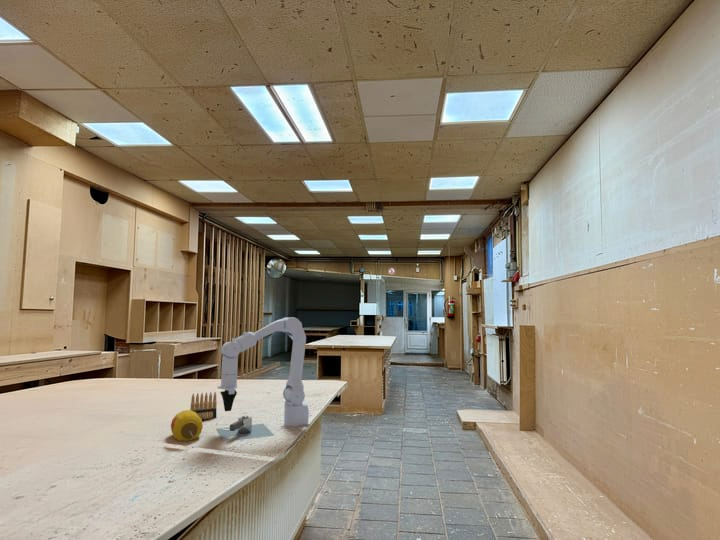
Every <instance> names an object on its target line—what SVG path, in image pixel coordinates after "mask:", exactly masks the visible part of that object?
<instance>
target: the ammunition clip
mask: <svg viewBox="0 0 720 540" xmlns="http://www.w3.org/2000/svg"><path fill="white" fill-rule="evenodd" d="M199 394H200V395H199ZM208 396H209V397H208ZM189 410H191V411H194V412H196V414H197V415H198V416H199V417H200V418H201V420H202V423H204V422H206V421H209V420H212V419H217V392H216V391H214V393H212V391H210V393H209V395H208V392H207V391H206V392H205V395H204V394H203V392H201V393H199V392H198V393H196V396H195V394H194V393H192V395H191V400H190V409H189Z"/></svg>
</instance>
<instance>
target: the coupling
mask: <svg viewBox="0 0 720 540" xmlns="http://www.w3.org/2000/svg"><path fill="white" fill-rule="evenodd" d="M252 425H253V417H252V416H248V415H242V416H240V417H238V418H237V421H234V422H232V423H231V424H230V425H229V427H230V431H235V430H236V429H238V432H239V433H248V432H251V431H252Z"/></svg>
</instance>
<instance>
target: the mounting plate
mask: <svg viewBox="0 0 720 540" xmlns="http://www.w3.org/2000/svg"><path fill="white" fill-rule="evenodd" d="M216 431H217V433H218V435H219V437H220V439H221V441H222V443H225V442H233V441H241V440H250V439H256V438H257V439H258V438H265V437H273V436H275V434H274V433H273V432H272V431H271V430H270V429H269V428H268V427H267V426H266V425H265V424H264V423H257V424H252V431H251V432H248V433H239V432H238V429H236V430H235V431H230V426H229V427H219V428H216Z"/></svg>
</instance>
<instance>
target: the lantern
mask: <svg viewBox="0 0 720 540" xmlns="http://www.w3.org/2000/svg"><path fill="white" fill-rule="evenodd" d="M170 429H171V433H172V436H173V437H174V438H175V440H177V442H188V441H189V442H190V441H193V440H196V439H197V438H199V436H200V435H201V433H202V432H203V431H202V430H203V422H202V420H201V418H200V417H199V416H198V415H197V414H196V412H194V411H191V410H190V409H186V410H182V411H180V412H178V413H177V414H175V415H174V417H173V419H172V420H171V424H170Z"/></svg>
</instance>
